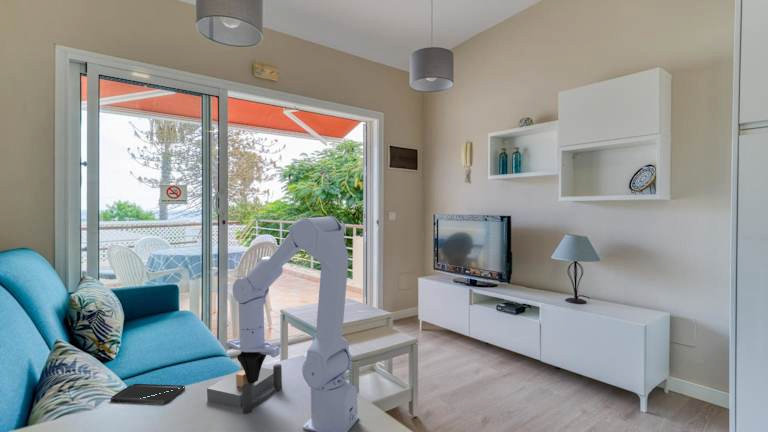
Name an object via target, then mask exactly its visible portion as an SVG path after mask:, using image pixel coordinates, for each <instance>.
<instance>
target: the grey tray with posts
mask: <svg viewBox="0 0 768 432" xmlns="http://www.w3.org/2000/svg"><path fill="white" fill-rule="evenodd" d="M242 370H244V369H243V367H242V365H241V364H240V369H238V370H237V371H235V372H233V373H231V374H230V375H228V376H226V377H224V378H223V379H221V380H219V381H217V382H216V383H214V384H212V385H210V386H209V387H206V398H207V399H206V400H207V402H211V403H217V404H219V405H220V404H221V405H224V406H229V407H233V408H237V409H243V399H242V387H239V386H236V374H237V373H239V372H241V371H242ZM250 384H251V383H250ZM251 385H252V401H253V400H254V399H256V398H257V397H259V396H260V395H261V394H263V393H264V392H265V391H267V390H269V389H270V388H272V387H274V377H273V368H267V367H262V366H261V369H260V373H259V378H258V381H256V382H255V383H253V384H251Z"/></svg>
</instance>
